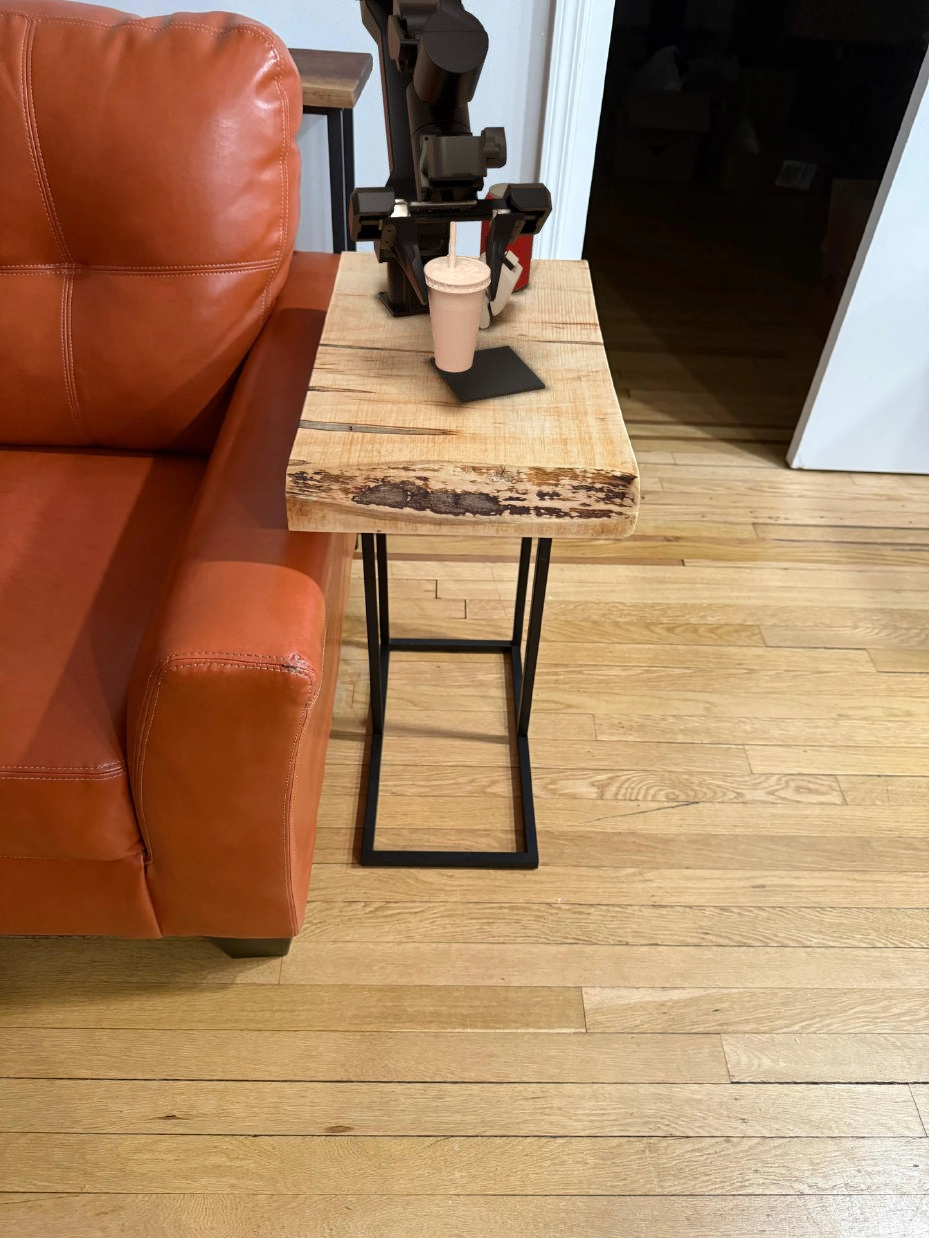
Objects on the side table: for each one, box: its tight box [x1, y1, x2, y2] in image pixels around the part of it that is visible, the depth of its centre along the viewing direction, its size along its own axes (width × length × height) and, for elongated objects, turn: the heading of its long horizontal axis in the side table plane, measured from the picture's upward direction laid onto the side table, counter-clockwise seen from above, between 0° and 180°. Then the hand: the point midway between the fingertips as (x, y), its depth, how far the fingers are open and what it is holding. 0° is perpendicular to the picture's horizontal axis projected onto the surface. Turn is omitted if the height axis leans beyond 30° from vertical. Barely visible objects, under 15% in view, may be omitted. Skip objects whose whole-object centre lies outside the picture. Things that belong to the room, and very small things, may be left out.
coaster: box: [429, 345, 546, 403], centre depth 104 cm, size 10×10×1 cm
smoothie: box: [424, 222, 491, 372], centre depth 88 cm, size 6×6×14 cm
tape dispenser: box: [478, 251, 523, 329], centre depth 112 cm, size 6×7×10 cm
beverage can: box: [479, 182, 534, 292], centre depth 119 cm, size 7×7×12 cm
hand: (458, 301), depth 87 cm, fingers closed on smoothie, 6 cm apart
